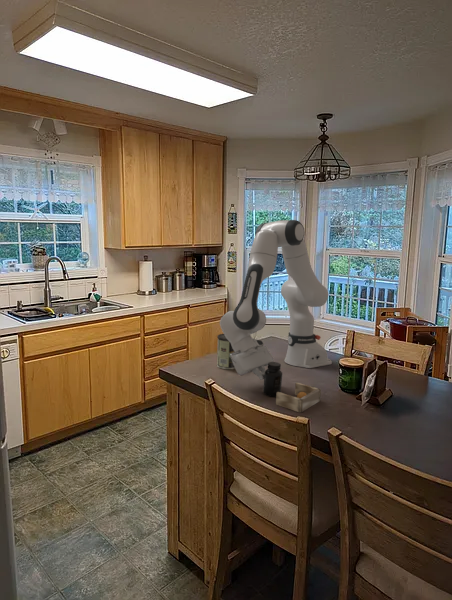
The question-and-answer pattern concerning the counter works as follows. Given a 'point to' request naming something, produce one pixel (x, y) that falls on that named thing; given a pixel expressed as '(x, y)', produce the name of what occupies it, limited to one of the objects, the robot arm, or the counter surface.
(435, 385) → the counter surface
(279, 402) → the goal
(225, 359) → the coffee can
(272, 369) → the supplement bottle
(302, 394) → the ball
